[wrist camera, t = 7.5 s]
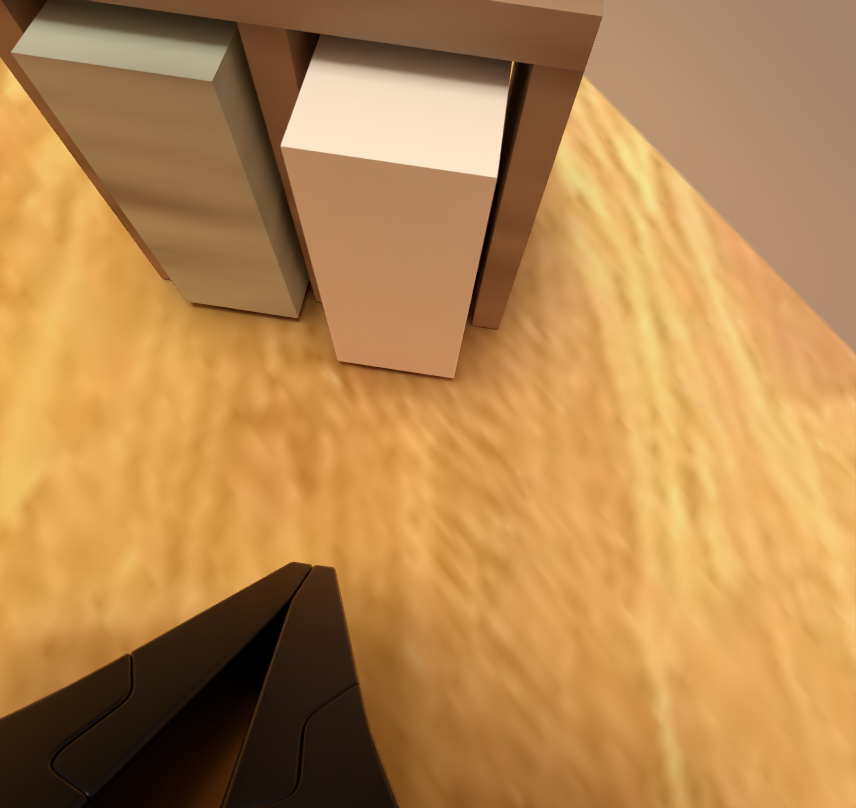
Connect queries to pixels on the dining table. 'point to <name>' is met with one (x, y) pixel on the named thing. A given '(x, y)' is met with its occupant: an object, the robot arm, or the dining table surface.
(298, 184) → the white plug
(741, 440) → the dining table surface
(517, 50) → the walnut housing
